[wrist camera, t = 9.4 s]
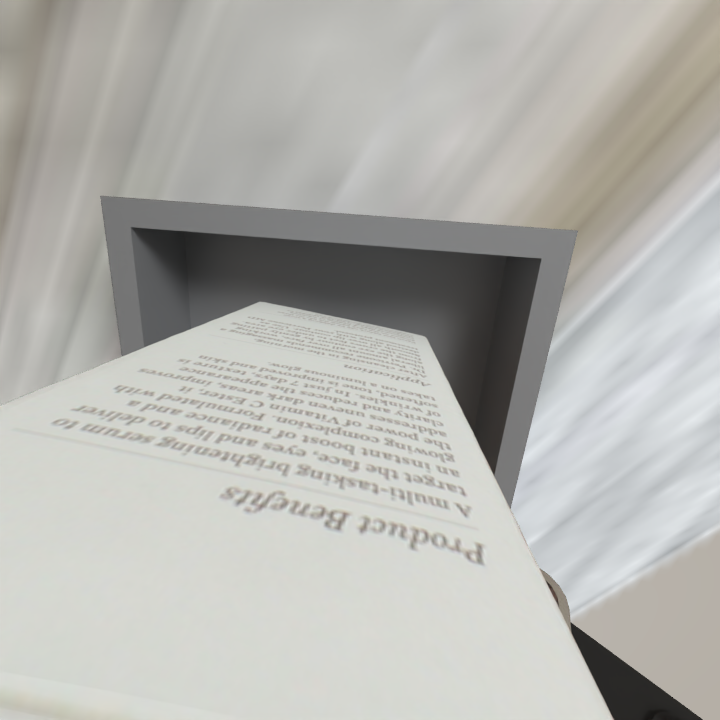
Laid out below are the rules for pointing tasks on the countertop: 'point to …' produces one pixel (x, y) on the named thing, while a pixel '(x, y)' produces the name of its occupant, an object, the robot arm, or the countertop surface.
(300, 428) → the small box
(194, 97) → the countertop surface
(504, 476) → the tray
